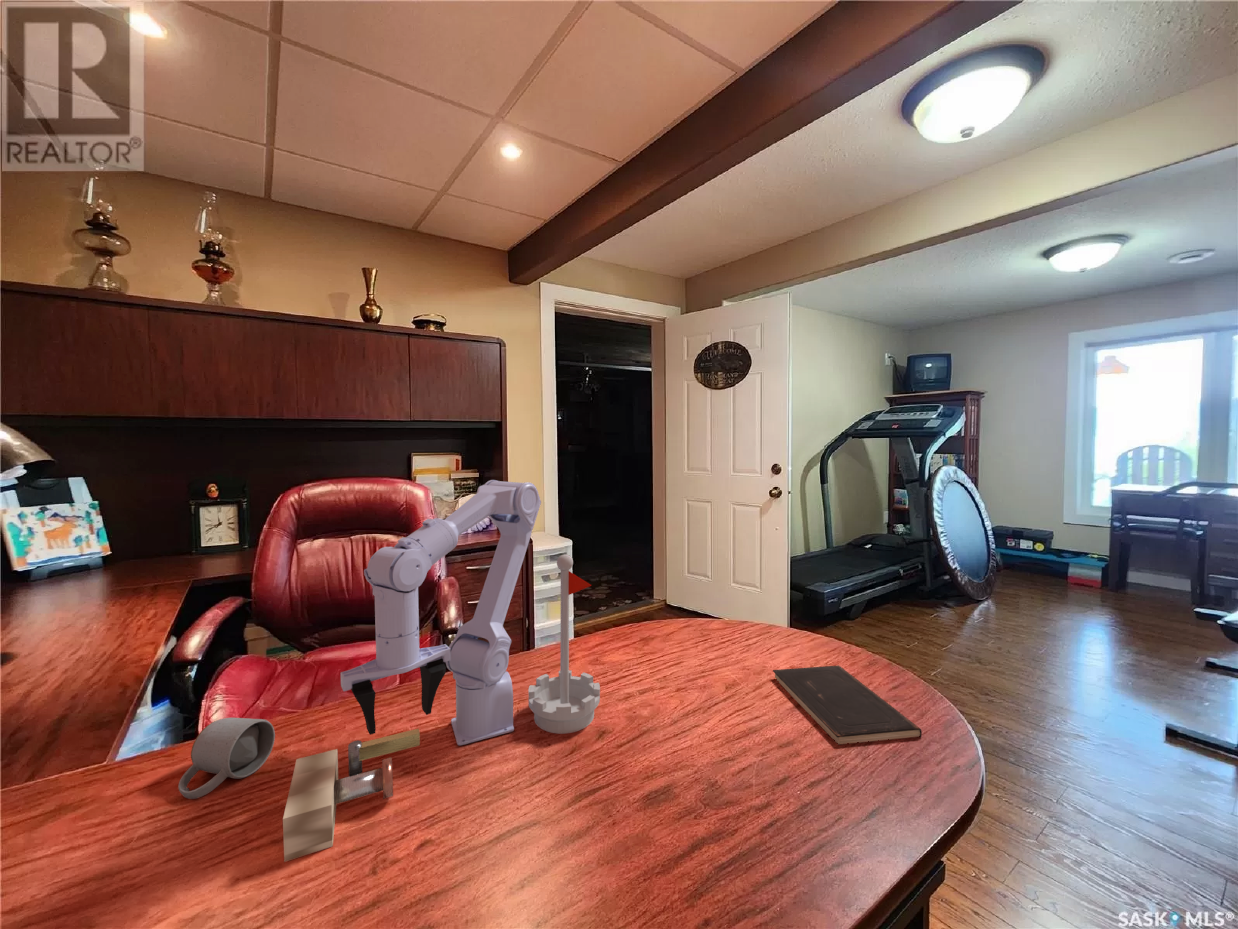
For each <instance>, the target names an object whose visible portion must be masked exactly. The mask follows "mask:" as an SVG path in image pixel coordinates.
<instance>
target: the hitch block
mask: <svg viewBox="0 0 1238 929" xmlns="http://www.w3.org/2000/svg"><path fill="white" fill-rule="evenodd" d="M338 756H339V755H338V748H336V749H331V750H328V751H324V752H319V753H316V754H312V755H307V756H304V757H299V758H296V760H295V765H294V769H293V774H292V777H291V778H292V779H291V781H290V786H289V791H288V796H287V799H286V805H285V807H284V808H285V809H284V813H283V817H282V830H283V831H282V834H283V859H284V860H283V862H284V863H286V862H288V861H292V860H294V859H297V858H300V857H304V856H307V855H310V854H312V853H316V852H319V851H322V850H326V849H328V848H329V849H330V848H332V847H333V846H334V837H335V836H334V835H335V823H336V813H337V804H335V805H334V781H335V780H339V767H338V766H339V760H338Z"/></svg>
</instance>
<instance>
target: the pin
mask: <svg viewBox="0 0 1238 929" xmlns="http://www.w3.org/2000/svg"><path fill="white" fill-rule="evenodd" d="M392 758H393V757H388V758H383V759H382V761H381V762H382V764H381V766H382V767H379V768H376V769H373V770H368V771H366V772H365V771H364V772H362V773H361V774H357V775H354V776H350V777H349V776H345V777H344V778H338V780H335V781H334V805H335V804H336V805H338V804H340V803H345V802H348V801H352V800H355V799H359V798H362V797H366V796H369V795H372V794H376V793H378V792H382V799H383V800H384V799H387V798H390V797H391V798H392V797H393V796H394V785H393V784H394V783H393V782H394V779H393V778H394V776H393V759H392Z"/></svg>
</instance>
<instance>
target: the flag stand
mask: <svg viewBox="0 0 1238 929" xmlns="http://www.w3.org/2000/svg"><path fill="white" fill-rule="evenodd" d="M556 565H557V568H558V569H559V570H560V659H559V660H560V663H559V664H560V665H559V666H560V667H559V668H560V669H559V670H558V676H554V677H550V675H548V673H545V674H542V675H540V676H538V677H537V678H536V679H535V685H532V684H531V685H529V687H528V707H529V709H530V711H532V713H533V714H534V715H533V719H534V722H535V725H537V727H538V728H540V729H542V731H546V732H547V733H552V734H560V735H562V734H571V733H576V732H579V731H582V730H583V729H585V728H586V727H588V726H589V725H590V724H591V723H592V722H593V721H594V718H595V710H596V708H597V707H598V706H599V705H600V700H601V695H600V694H601V686H600V685H601V684H600V682H594V676H593V675H591V674H589V673H586V672H582V673H581V674H580V676H576V675H575V676H574V675H572V673H573V672H572V669H571V670H570V662H569V661H570V659H569V658H570V655H569V654H570V652H569V651H570V642H569V641H570V629H569V628H570V595H573V594H575V593H577V592H580V591H581V590H585V589H586V588H590V587H591V586H592V584H590V583H589V582H588V581H586V580H584V579H582V578H581V577H580V576H577V575H576V574H575V573H573V572H571V571H570V570H571V569H572V567H573V565H574V560H573V558H572V557H571V556H570V555H568V554H565V553H564V554H561V555H559V556H558V558H557V560H556Z"/></svg>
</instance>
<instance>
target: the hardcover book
mask: <svg viewBox="0 0 1238 929" xmlns="http://www.w3.org/2000/svg"><path fill="white" fill-rule="evenodd" d="M772 672H773V673H774V679H775V678H776V679H777V680H776V679H775V680H776V681H777V682H778V681H779V682H778V683H779V685H780V686H782V688H784V689H785V691H786V692H787V693H788V694H789V695H790V696H791V697H792V698H793V699H794V700H795V701H796V702H797V703H798V704H799V706H801V707H802V709H804V710H805V712H806V713H807V714H808V715H809V716H810V715H811V716H810V717H811V718H812V719H813V720H814V721H815V722H816V723H817V724H818V725H819V726H820V727H821V728H822V729H823V730H824V731H825V732H826V734H827V735H829V737H830V738H831V739H832V740H833V739H834V740H835V741H834V740H833V741H834V742H835V743H836V744H837V743H838V744H837V745H847V743H849V744H856V743H857V742H859V743H865V742H867V743H868V741H869V742H877V741H878V740H879V741H887V740H888V739H889V740H897V739H898V740H899V739H908V738H917V737H918V738H922V735H923V733H922V732H923V731H922V729H921V728H920V727H919V726H918V725H917V724H915V723H914V722H913V721H911V720H910V719H908V718H907V717H906V716H905V715H903V714H902V713H901V712H900V711H898V710H897V709H896V708H895V707H894V706H892V705H891V704H890V703H888V702H887V701H886V700H885V699H883V698H881V696H879V695H878V694H877V693H876V692H874V691H873V690H871V688H869V687H868V686H867V685H866V684H863V682H862V681H860V680H858V679H857V678H856V677H855V676H853V675H852V674H851V673H850V672H848V671H847V670H846V669H844V667H842V666H841V665H839V664H838V665H828V666H827V665H825V666H810V667H799V668H798V667H795V668H785V669H784V668H782V669H781V668H780V669H772ZM919 736H920V737H919ZM889 740H888V741H889ZM857 744H858V743H857Z"/></svg>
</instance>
